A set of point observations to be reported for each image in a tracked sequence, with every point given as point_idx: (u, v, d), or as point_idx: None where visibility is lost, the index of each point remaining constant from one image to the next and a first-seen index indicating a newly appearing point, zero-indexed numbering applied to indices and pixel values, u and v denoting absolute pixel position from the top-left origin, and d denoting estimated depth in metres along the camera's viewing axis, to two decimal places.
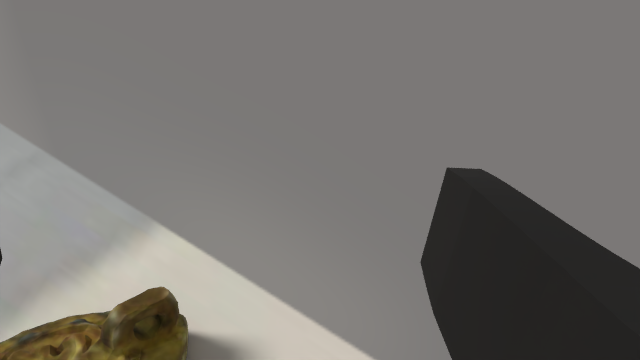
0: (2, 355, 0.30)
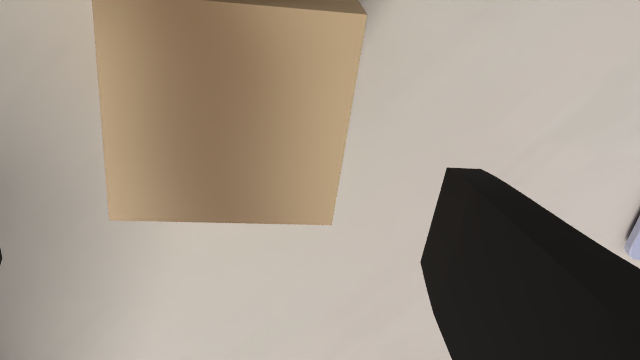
0: None
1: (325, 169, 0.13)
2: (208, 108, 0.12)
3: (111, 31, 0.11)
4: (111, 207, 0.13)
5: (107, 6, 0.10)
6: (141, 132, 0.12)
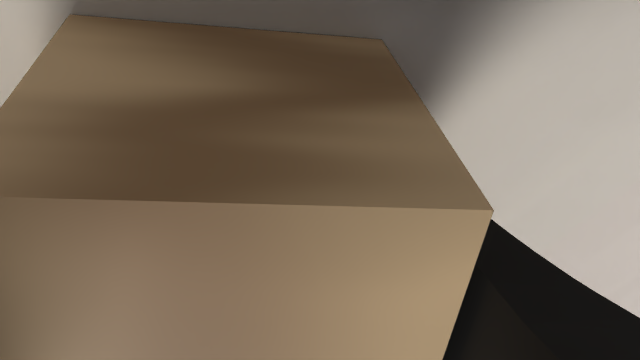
0: None
1: None
2: None
3: None
4: None
5: None
6: None
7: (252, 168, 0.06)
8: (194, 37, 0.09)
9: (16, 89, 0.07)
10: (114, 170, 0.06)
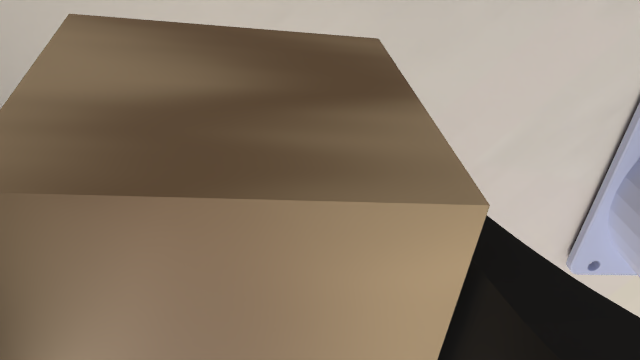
0: None
1: None
2: (189, 359, 0.06)
3: None
4: None
5: None
6: None
7: (253, 163, 0.06)
8: (193, 36, 0.09)
9: (18, 87, 0.07)
10: (117, 167, 0.06)
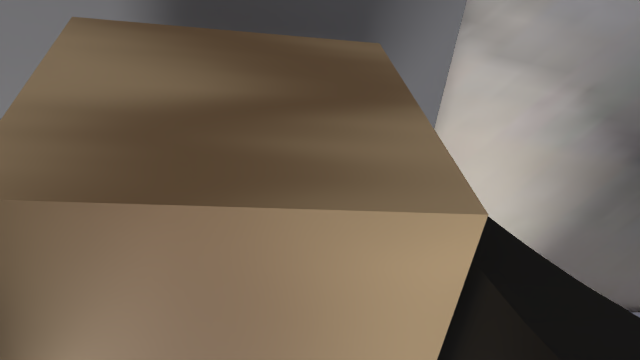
0: None
1: None
2: None
3: None
4: None
5: None
6: None
7: (254, 171, 0.06)
8: (195, 40, 0.09)
9: (21, 92, 0.07)
10: (119, 174, 0.06)
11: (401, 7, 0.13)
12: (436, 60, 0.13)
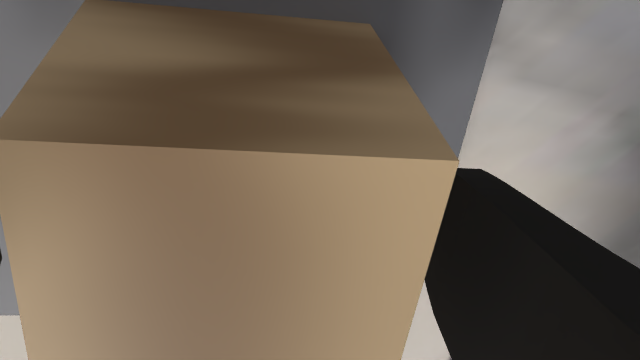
0: None
1: None
2: (195, 300, 0.07)
3: (27, 199, 0.06)
4: None
5: (17, 162, 0.06)
6: (88, 335, 0.07)
7: (252, 124, 0.07)
8: (199, 19, 0.10)
9: (44, 59, 0.08)
10: (134, 123, 0.06)
11: (423, 31, 0.11)
12: (460, 90, 0.12)
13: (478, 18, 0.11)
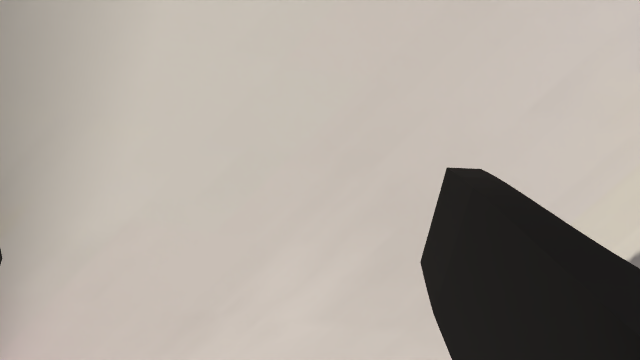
0: None
1: None
2: None
3: None
4: None
5: None
6: None
7: None
8: None
9: None
10: None
11: None
12: None
13: None
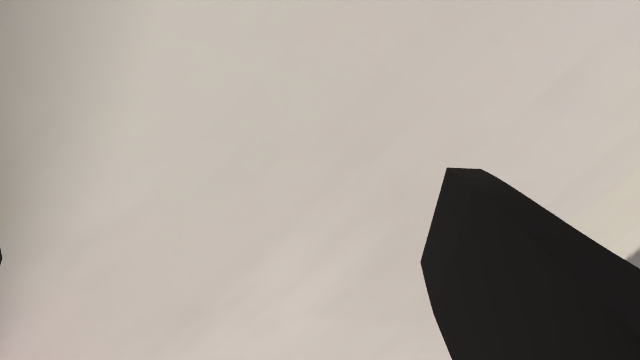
0: None
1: None
2: None
3: None
4: None
5: None
6: None
7: None
8: None
9: None
10: None
11: None
12: None
13: None
